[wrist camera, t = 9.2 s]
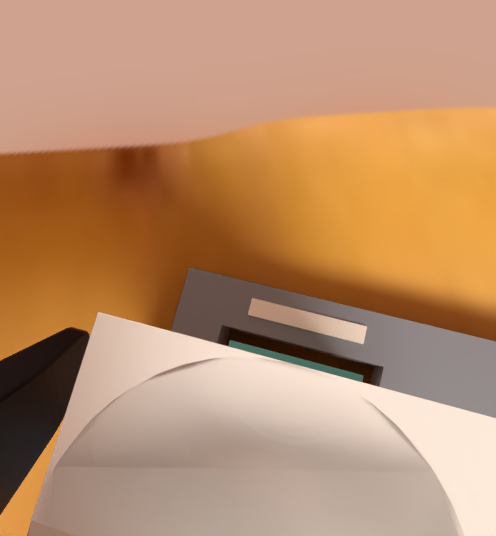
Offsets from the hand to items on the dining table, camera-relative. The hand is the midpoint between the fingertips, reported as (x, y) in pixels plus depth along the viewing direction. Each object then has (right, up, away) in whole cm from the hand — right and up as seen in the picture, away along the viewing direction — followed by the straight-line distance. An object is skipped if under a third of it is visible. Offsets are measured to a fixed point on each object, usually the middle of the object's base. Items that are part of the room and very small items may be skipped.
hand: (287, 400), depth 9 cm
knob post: (0, -3, +8) cm, 8 cm away
